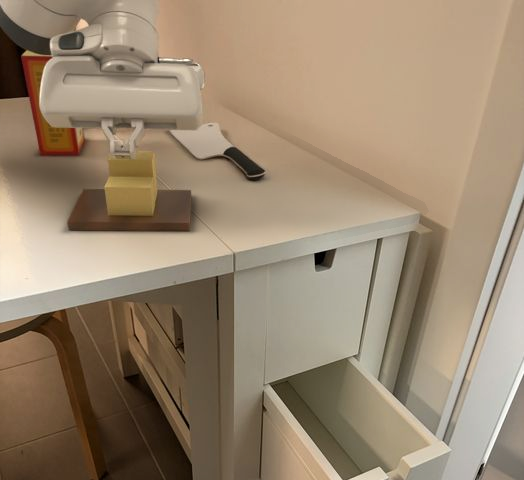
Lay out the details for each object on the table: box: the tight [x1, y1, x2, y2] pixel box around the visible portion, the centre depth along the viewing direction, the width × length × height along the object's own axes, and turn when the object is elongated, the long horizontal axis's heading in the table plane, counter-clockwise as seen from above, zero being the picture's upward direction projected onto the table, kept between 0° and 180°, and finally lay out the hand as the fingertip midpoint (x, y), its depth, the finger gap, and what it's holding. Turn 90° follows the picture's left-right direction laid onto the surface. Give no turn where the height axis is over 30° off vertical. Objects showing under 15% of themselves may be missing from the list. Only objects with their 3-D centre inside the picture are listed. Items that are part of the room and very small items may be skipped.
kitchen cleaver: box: [169, 122, 266, 181], centre depth 102 cm, size 31×2×10 cm
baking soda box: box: [20, 50, 86, 156], centre depth 97 cm, size 10×6×16 cm
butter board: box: [66, 188, 192, 232], centre depth 79 cm, size 16×12×1 cm
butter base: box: [107, 150, 158, 201], centre depth 79 cm, size 6×4×6 cm, turn 94°
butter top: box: [104, 175, 155, 216], centre depth 76 cm, size 6×4×4 cm
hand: (123, 157), depth 70 cm, fingers closed
